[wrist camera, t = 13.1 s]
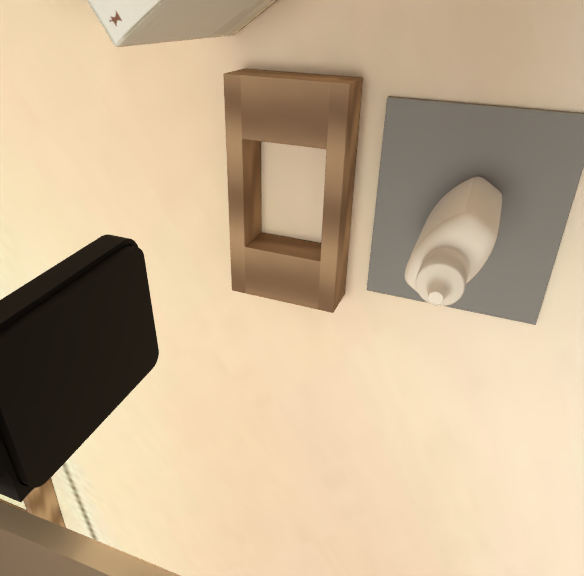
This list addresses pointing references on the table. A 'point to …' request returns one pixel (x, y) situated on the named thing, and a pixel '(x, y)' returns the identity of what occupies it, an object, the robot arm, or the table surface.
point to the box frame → (43, 503)
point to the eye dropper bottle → (455, 241)
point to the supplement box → (173, 19)
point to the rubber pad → (496, 170)
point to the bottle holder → (247, 181)
